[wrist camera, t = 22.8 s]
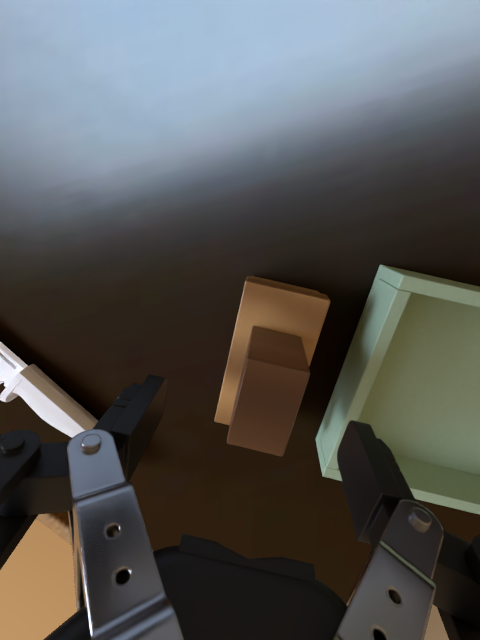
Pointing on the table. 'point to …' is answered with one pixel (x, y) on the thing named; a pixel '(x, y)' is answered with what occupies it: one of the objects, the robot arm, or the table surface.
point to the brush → (269, 363)
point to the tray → (415, 385)
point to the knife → (42, 395)
